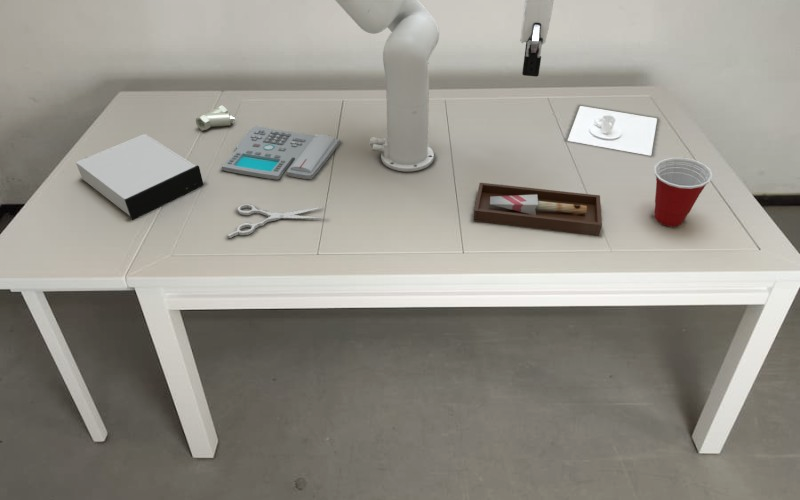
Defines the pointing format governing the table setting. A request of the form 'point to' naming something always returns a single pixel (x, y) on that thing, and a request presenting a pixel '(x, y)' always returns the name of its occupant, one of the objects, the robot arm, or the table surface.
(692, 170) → the plastic cup
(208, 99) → the table surface
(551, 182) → the table surface
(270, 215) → the scissors
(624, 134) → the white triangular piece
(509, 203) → the paintbrush
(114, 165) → the disc drive
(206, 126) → the pipe fitting
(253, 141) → the office telephone
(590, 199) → the tray
